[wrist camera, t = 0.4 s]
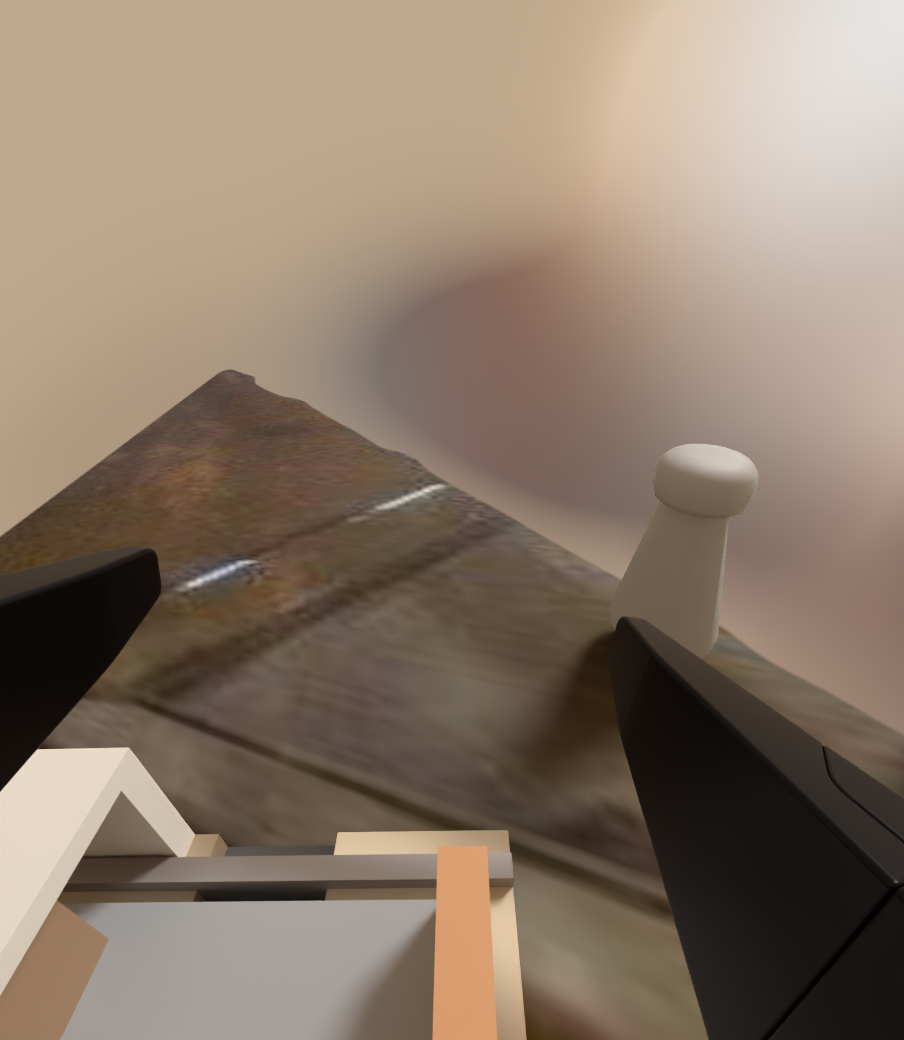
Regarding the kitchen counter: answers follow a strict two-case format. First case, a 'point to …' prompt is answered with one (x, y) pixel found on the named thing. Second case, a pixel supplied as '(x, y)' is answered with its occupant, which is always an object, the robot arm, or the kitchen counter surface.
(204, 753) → the kitchen counter surface
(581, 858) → the kitchen counter surface
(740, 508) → the salt shaker
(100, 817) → the tunnel
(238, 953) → the sled
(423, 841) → the track deck
